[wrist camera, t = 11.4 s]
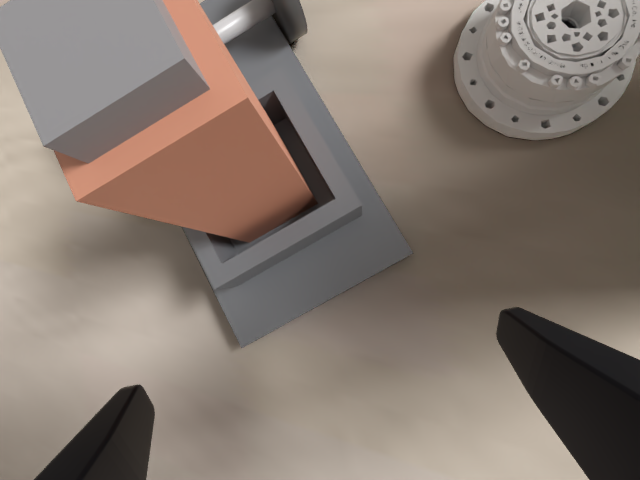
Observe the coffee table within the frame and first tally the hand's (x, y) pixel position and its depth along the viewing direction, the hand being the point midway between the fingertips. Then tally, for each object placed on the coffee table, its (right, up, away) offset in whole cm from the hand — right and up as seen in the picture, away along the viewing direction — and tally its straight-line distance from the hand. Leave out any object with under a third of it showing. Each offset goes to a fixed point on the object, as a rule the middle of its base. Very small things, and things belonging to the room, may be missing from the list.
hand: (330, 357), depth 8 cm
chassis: (-5, +9, +15) cm, 18 cm away
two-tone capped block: (-4, +6, +13) cm, 15 cm away
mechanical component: (+13, +14, +13) cm, 24 cm away
